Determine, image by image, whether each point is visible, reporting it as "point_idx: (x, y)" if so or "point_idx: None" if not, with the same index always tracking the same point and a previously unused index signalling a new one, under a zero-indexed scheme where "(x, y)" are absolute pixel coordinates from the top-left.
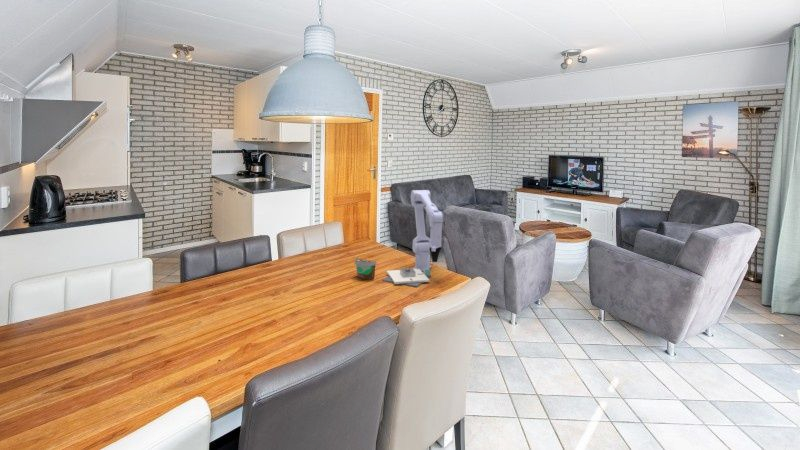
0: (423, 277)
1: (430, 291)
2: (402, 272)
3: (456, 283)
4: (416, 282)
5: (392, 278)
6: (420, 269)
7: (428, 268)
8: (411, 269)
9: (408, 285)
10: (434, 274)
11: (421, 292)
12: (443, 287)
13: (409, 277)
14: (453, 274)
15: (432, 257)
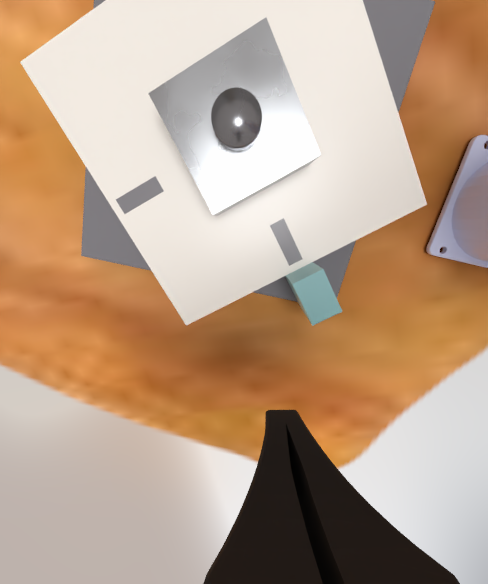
0: (216, 279)
1: (62, 341)
2: (178, 79)
3: (239, 447)
4: None
5: (98, 9)
6: (453, 211)
7: (340, 307)
8: (275, 158)
9: (89, 190)
10: (372, 320)
11: (22, 296)
12: (154, 396)
13: (181, 170)
14: (389, 421)
15: (261, 452)
